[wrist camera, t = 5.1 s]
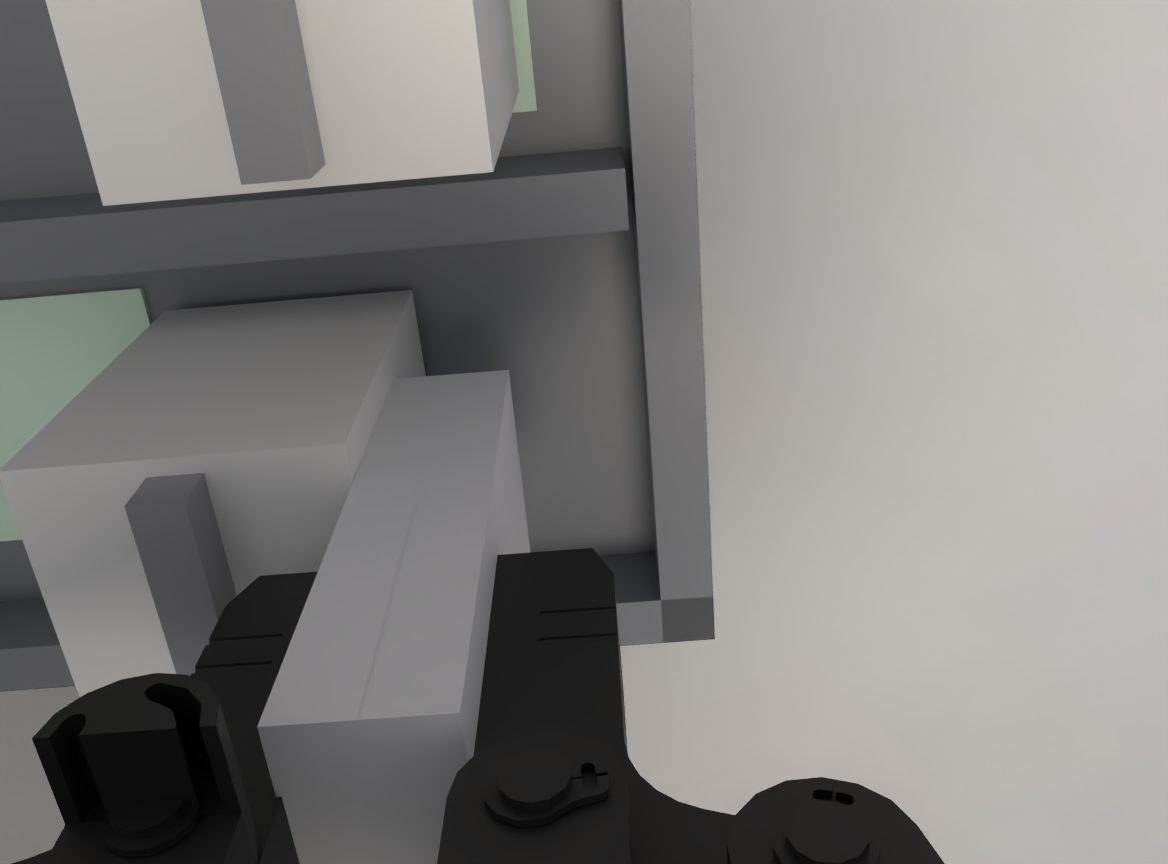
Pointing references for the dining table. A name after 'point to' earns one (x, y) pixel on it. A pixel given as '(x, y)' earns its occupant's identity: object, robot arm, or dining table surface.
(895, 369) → the dining table surface
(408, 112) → the tab mid
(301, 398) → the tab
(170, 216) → the switch bank
